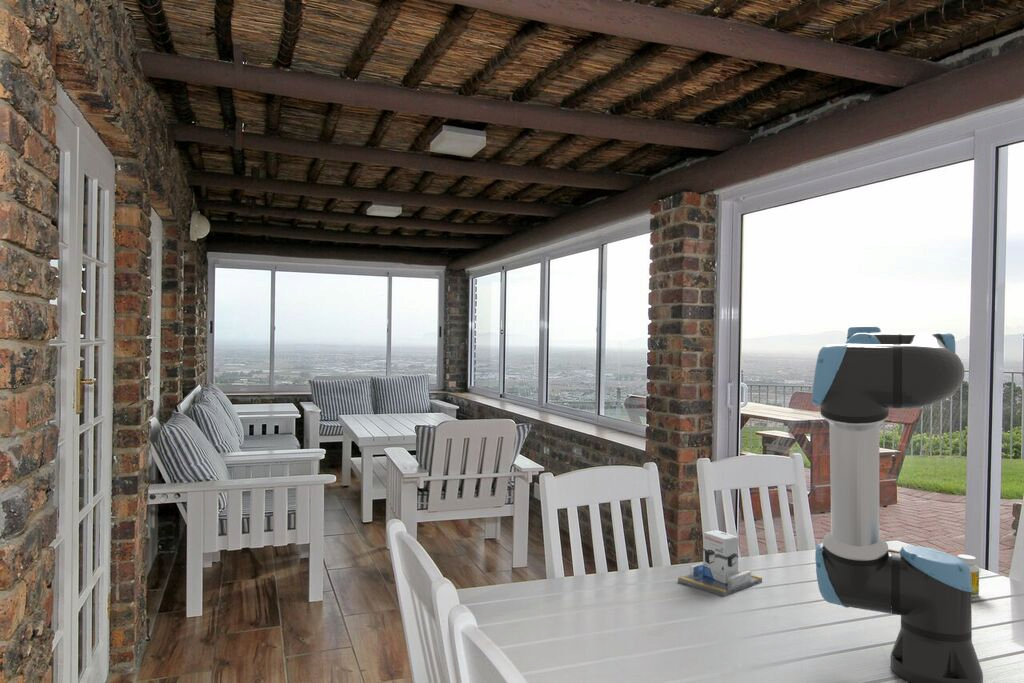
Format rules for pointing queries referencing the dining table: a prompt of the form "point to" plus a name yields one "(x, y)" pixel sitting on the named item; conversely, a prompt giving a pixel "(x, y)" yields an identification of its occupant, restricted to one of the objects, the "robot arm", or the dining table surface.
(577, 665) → the dining table surface
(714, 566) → the ink box
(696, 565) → the grey tray
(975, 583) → the supplement bottle
